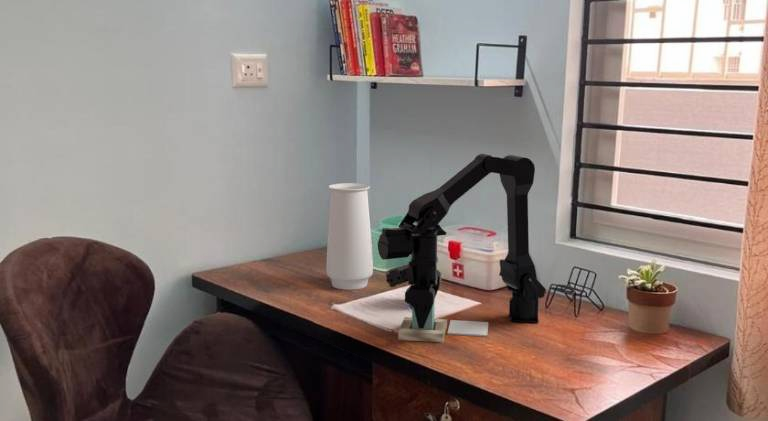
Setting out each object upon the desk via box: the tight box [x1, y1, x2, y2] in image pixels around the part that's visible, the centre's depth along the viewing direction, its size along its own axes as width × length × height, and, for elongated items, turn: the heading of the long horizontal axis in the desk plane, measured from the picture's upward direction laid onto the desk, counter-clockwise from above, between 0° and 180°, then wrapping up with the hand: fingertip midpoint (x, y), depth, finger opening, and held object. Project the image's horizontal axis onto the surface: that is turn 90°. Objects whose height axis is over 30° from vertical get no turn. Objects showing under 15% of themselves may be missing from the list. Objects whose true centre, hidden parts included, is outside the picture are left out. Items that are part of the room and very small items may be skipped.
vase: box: [325, 182, 374, 291], centre depth 209 cm, size 13×13×28 cm
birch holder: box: [397, 316, 448, 344], centre depth 172 cm, size 10×10×2 cm
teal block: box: [411, 303, 435, 330], centre depth 172 cm, size 4×4×8 cm
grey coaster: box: [446, 319, 489, 338], centre depth 175 cm, size 9×9×1 cm
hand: (423, 321), depth 172 cm, fingers open, 8 cm apart
